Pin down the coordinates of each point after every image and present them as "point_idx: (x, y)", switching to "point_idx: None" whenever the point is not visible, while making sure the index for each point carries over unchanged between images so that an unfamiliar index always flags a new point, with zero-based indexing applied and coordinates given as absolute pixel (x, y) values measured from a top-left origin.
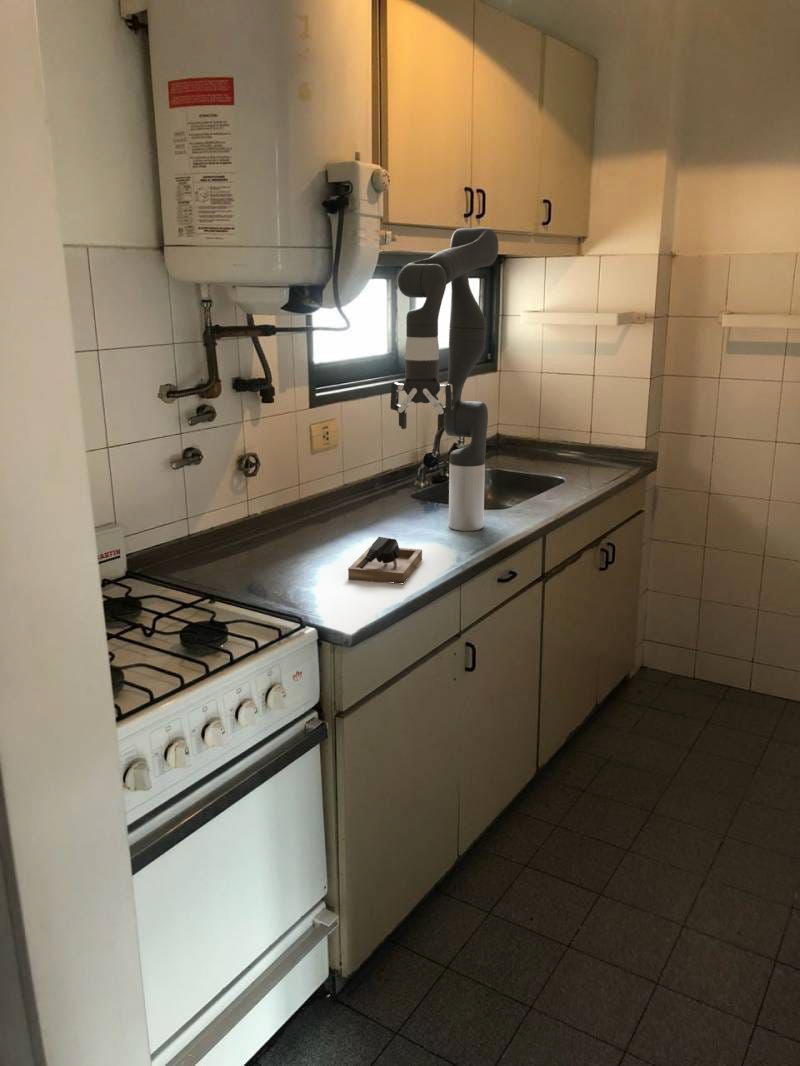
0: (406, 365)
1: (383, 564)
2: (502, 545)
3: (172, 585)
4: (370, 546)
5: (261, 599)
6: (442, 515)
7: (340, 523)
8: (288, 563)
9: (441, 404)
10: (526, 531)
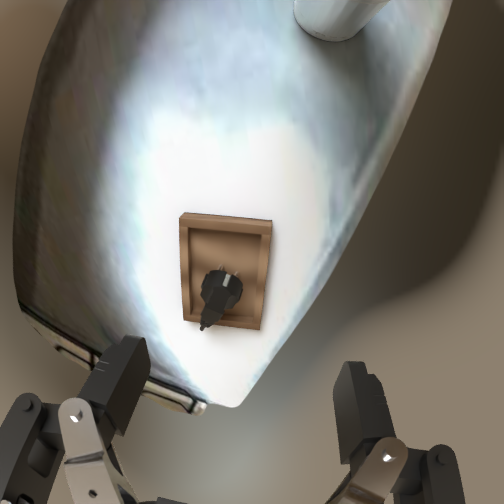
0: None
1: (217, 267)
2: (404, 126)
3: (53, 327)
4: (179, 222)
5: None
6: None
7: (93, 52)
8: (96, 262)
9: (380, 495)
10: (434, 47)
